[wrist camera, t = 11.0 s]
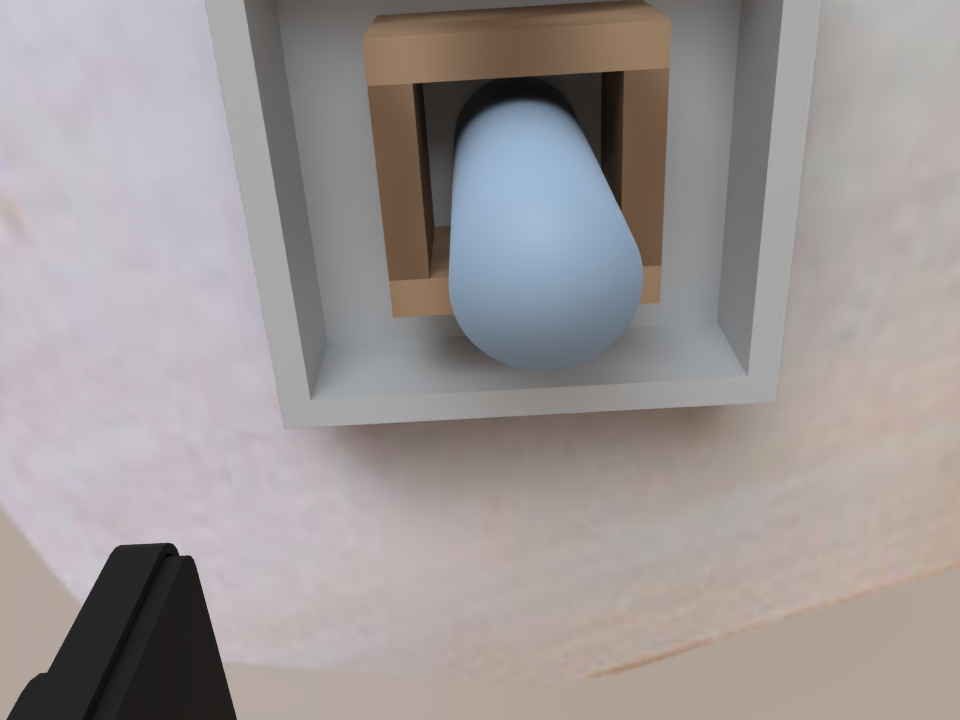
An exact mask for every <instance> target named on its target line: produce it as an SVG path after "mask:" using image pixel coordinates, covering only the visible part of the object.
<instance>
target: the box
mask: <svg viewBox="0 0 960 720" xmlns="http://www.w3.org/2000/svg"><path fill="white" fill-rule="evenodd" d="M604 1H621V0H205V4H206V10H207V15H208V20H209V26H210V31H211V37H212V42H213V47H214V53H215V58H216V63H217V69H218V74H219V80H220V85H221V90H222V96H223V101H224V106H225V112H226V117H227V123H228V128H229V133H230V139H231V144H232V149H233V155H234V160H235V165H236V171H237V176H238V182H239V187H240V192H241V198H242V203H243V208H244V214H245V219H246V225H247V230H248V235H249V241H250V246H251V251H252V257H253V262H254V268H255V273H256V278H257V284H258V289H259V294H260V300H261V305H262V310H263V316H264V321H265V327H266V332H267V337H268V343H269V348H270V353H271V359H272V364H273V370H274V375H275V380H276V386H277V391H278V396H279V402H280V407H281V412H282V418H283V423H284V429H288V428H307V427H326V426H344V425H363V424H381V423H400V422H418V421H437V420H455V419H474V418H492V417H511V416H529V415H548V414H566V413H585V412H603V411H622V410H640V409H659V408H677V407H696V406H714V405H733V404H751V403H770V402H776V400H777V391H778V382H779V373H780V365H781V356H782V347H783V338H784V329H785V321H786V312H787V303H788V294H789V285H790V277H791V268H792V259H793V250H794V241H795V233H796V224H797V215H798V206H799V197H800V189H801V180H802V171H803V162H804V153H805V145H806V136H807V127H808V118H809V109H810V101H811V92H812V83H813V74H814V65H815V57H816V48H817V39H818V30H819V21H820V13H821V4H822V0H644V1H645V2H647V3H648V4H650V5H651V6H652V7H654V8H655V9H657V10H658V11H660V12H661V13H663V14H664V15H665V16H667V17H668V18H670V19H671V20H672V22H671V47H670V71H669V95H668V120H667V144H666V169H665V193H664V217H663V242H662V266H661V290H660V303H650V304H639V305H638V308H637V310H636V313H635V315H634V317H633V319H632V320H631V322H630V324H629V326H628V327H627V328H626V330H625V331H624V332H623V334H622V335H621V336H620V337H619V338H618V339H617V340H616V341H615V342H614V343H613V344H612V345H611V346H609V347H608V348H607V349H606V350H605V351H603V352H602V353H600V354H598V355H597V356H595V357H594V358H592V359H590V360H588V361H585V362H583V363H581V364H578V365H575V366H572V367H568V368H564V369H559V370H550V371H534V370H526V369H521V368H516V367H512V366H510V365H507V364H504V363H501V362H499V361H497V360H496V359H494V358H492V357H490V356H489V355H487V354H486V353H484V352H483V351H481V350H480V349H479V348H478V347H477V346H476V345H475V344H473V343H472V342H471V340H470V339H469V338H468V337H467V336H466V334H465V333H464V332H463V330H462V328H461V327H460V325H459V324H458V322H457V319H456V317H455V315H454V314H453V315H435V316H417V317H399V318H393V312H392V303H391V294H390V286H389V277H388V268H387V259H386V250H385V241H384V232H383V223H382V214H381V205H380V196H379V187H378V178H377V169H376V161H375V152H374V143H373V134H372V125H371V116H370V107H369V98H368V89H367V80H366V71H365V62H364V53H363V44H362V38H363V36H364V35H365V33H366V32H367V30H368V29H369V27H370V26H371V24H372V23H373V21H374V20H375V18H376V17H377V15H392V14H408V13H425V12H441V11H457V10H474V9H490V8H506V7H523V6H539V5H555V4H572V3H588V2H604ZM532 77H536V78H539V79H541V80H543V81H546V82H548V83H549V84H551V85H552V86H554V87H555V88H556V89H557V90H559V91H560V92H561V93H562V94H563V95H564V97H565V98H566V99H567V101H568V102H569V103H570V105H571V107H572V109H573V111H574V113H575V115H576V117H577V120H578V122H579V124H580V126H581V128H582V130H583V132H584V134H585V136H586V139H587V141H588V143H589V145H590V147H591V149H592V151H593V153H594V155H595V158H596V160H597V162H598V164H599V166H600V168H601V85H602V72H594V73H577V74H560V75H544V76H532ZM494 79H497V78H494ZM494 79H477V80H460V81H444V82H427V83H423V93H424V105H425V117H426V129H427V141H428V153H429V165H430V177H431V189H432V201H433V213H434V225H435V227H438V226H451V210H452V185H453V161H454V136H455V127H456V123H457V119H458V116H459V114H460V111H461V109H462V108H463V106H464V104H465V103H466V101H467V100H468V99H469V97H470V96H471V95H472V94H473V93H474V92H475V91H476V90H478V89H479V88H480V87H481V86H483V85H484V84H486V83H488V82H490V81H492V80H494Z"/></svg>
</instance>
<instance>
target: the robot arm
mask: <svg viewBox="0 0 960 720" xmlns="http://www.w3.org/2000/svg"><path fill="white" fill-rule="evenodd" d="M7 720H237V719H236V714H235V710H234V707H233V703H232V699H231V695H230V692H229V688H228V684H227V680H226V677H225V673H224V669H223V665H222V662H221V658H220V654H219V650H218V647H217V643H216V639H215V635H214V632H213V628H212V624H211V620H210V617H209V613H208V609H207V605H206V602H205V598H204V594H203V590H202V587H201V583H200V579H199V575H198V572H197V568H196V565H195V562H194V559H193V558H192V557H191V556H188V555H187V556H179V553H178V550H177V548H176V547H175V546H174V545H173V544H171V543H156V544H135V545H120V546H118V547H116V548H115V549H114V550H113V552H112V553H111V554H110V556H109V558H108V560H107V562H106V564H105V566H104V567H103V569H102V571H101V573H100V575H99V577H98V579H97V580H96V582H95V584H94V586H93V588H92V590H91V592H90V594H89V595H88V597H87V599H86V601H85V603H84V605H83V607H82V609H81V610H80V612H79V614H78V616H77V618H76V620H75V622H74V624H73V625H72V627H71V629H70V631H69V633H68V635H67V637H66V638H65V640H64V642H63V644H62V646H61V648H60V650H59V652H58V654H57V655H56V657H55V659H54V661H53V663H52V665H51V667H50V668H49V670H48V672H47V673H40V674H38V675H37V676H36V677H35V678H33V679H32V680H30V682H29V683H28V684H27V686H26V687H25V689H24V690H23V691H22V693H21V694H20V696H19V698H18V700H17V702H16V704H15V705H14V707H13V709H12V711H11V712H10V714H9V716H8V718H7Z"/></svg>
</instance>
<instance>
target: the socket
mask: <svg viewBox="0 0 960 720" xmlns="http://www.w3.org/2000/svg"><path fill="white" fill-rule="evenodd" d="M671 22H672V20H671V19H670V18H668V17H667V16H665V15H664V14H663V13H661V12H660V11H658V10H657V9H655V8H654V7H652V6H651V5H650V4H648V3H647V2H645V1H644V0H621V1H604V2H588V3H572V4H555V5H539V6H523V7H506V8H490V9H474V10H457V11H441V12H425V13H408V14H392V15H377V17H376V18H375V20H374V21H373V23H372V24H371V26H370V27H369V29H368V30H367V32H366V33H365V35H364V36H363V38H362V44H363V53H364V62H365V71H366V80H367V89H368V98H369V107H370V116H371V125H372V134H373V143H374V152H375V161H376V169H377V178H378V187H379V196H380V205H381V214H382V223H383V232H384V241H385V250H386V259H387V268H388V277H389V286H390V294H391V303H392V312H393V318H399V317H417V316H435V315H453V314H454V313H453V309H452V306H451V302H450V296H449V258H450V234H451V226H438V227H435V225H434V213H433V201H432V189H431V177H430V165H429V153H428V141H427V129H426V117H425V105H424V93H423V83H427V82H444V81H460V80H477V79H494V78H510V77H527V76H544V75H560V74H577V73H594V72H602V85H601V170H602V172H603V174H604V177H605V179H606V181H607V183H608V185H609V187H610V189H611V191H612V193H613V195H614V198H615V200H616V202H617V204H618V206H619V208H620V210H621V212H622V214H623V217H624V219H625V221H626V223H627V225H628V227H629V229H630V231H631V233H632V236H633V238H634V240H635V242H636V244H637V247H638V249H639V252H640V255H641V260H642V265H643V289H642V295H641V299H640V303H639V304H650V303H660V290H661V266H662V242H663V217H664V193H665V169H666V144H667V120H668V95H669V71H670V47H671Z"/></svg>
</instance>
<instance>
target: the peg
mask: <svg viewBox="0 0 960 720" xmlns="http://www.w3.org/2000/svg"><path fill="white" fill-rule="evenodd" d="M642 289H643V265H642V260H641V255H640V252H639V249H638V247H637V244H636V242H635V240H634V238H633V236H632V233H631V231H630V229H629V227H628V225H627V223H626V221H625V219H624V217H623V214H622V212H621V210H620V208H619V206H618V204H617V202H616V200H615V198H614V195H613V193H612V191H611V189H610V187H609V185H608V183H607V181H606V179H605V177H604V174H603V172H602V170H601V168H600V166H599V164H598V162H597V160H596V158H595V155H594V153H593V151H592V149H591V147H590V145H589V143H588V141H587V139H586V136H585V134H584V132H583V130H582V128H581V126H580V124H579V122H578V120H577V117H576V115H575V113H574V111H573V109H572V107H571V105H570V103H569V102H568V101H567V99H566V98H565V97H564V95H563V94H562V93H561V92H560V91H559V90H557V89H556V88H555V87H554V86H552V85H551V84H549V83H548V82H546V81H543V80H541V79H539V78H536V77H532V76H527V77H510V78H497V79H494V80H492V81H490V82H488V83H486V84H484V85H483V86H481V87H480V88H479V89H478V90H476V91H475V92H474V93H473V94H472V95H471V96H470V97H469V99H468V100H467V101H466V103H465V104H464V106H463V108H462V109H461V111H460V114H459V116H458V119H457V123H456V127H455V136H454V161H453V185H452V210H451V234H450V258H449V296H450V302H451V306H452V309H453V313H454V315H455V317H456V319H457V322H458V324H459V325H460V327H461V328H462V330H463V332H464V333H465V334H466V336H467V337H468V338H469V339H470V340H471V342H472V343H473V344H475V345H476V346H477V347H478V348H479V349H480V350H481V351H483V352H484V353H486V354H487V355H489V356H490V357H492V358H494V359H496V360H497V361H499V362H501V363H504V364H507V365H510V366H512V367H516V368H521V369H526V370H534V371H550V370H559V369H564V368H568V367H572V366H575V365H578V364H581V363H583V362H585V361H588V360H590V359H592V358H594V357H595V356H597V355H598V354H600V353H602V352H603V351H605V350H606V349H607V348H608V347H609V346H611V345H612V344H613V343H614V342H615V341H616V340H617V339H618V338H619V337H620V336H621V335H622V334H623V332H624V331H625V330H626V328H627V327H628V326H629V324H630V322H631V320H632V319H633V317H634V315H635V313H636V310H637V308H638V305H639V303H640V299H641V295H642Z"/></svg>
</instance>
